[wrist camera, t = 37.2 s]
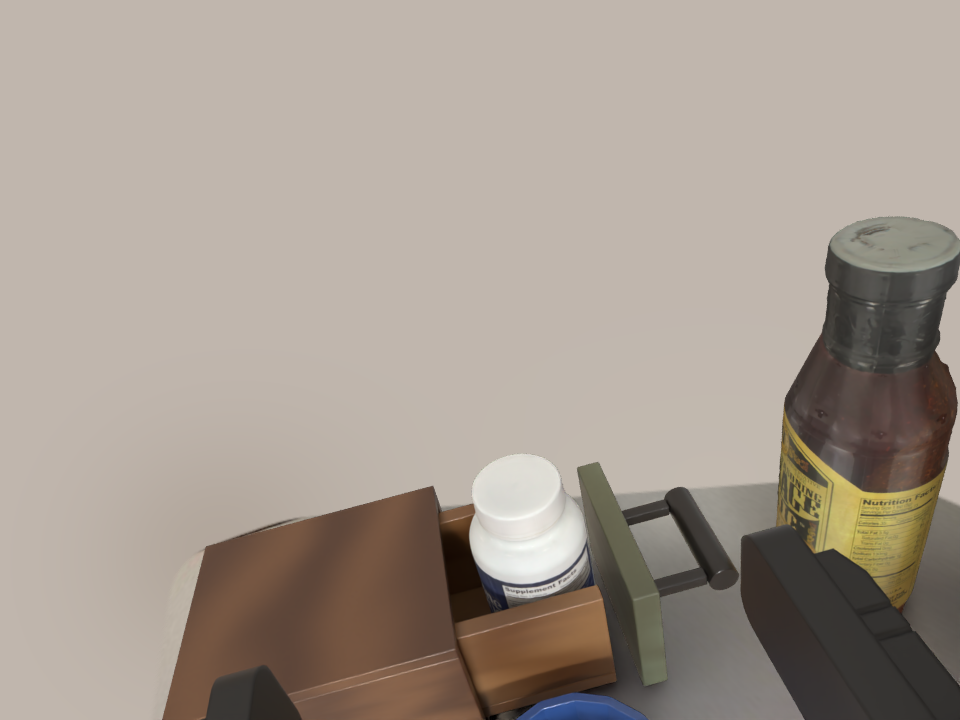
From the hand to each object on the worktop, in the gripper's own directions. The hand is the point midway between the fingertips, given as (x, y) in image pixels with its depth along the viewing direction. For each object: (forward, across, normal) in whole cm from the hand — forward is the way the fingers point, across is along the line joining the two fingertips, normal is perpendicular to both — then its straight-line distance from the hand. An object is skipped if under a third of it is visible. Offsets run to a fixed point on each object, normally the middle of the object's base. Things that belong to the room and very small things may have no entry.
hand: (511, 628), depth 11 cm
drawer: (+15, -2, +22) cm, 26 cm away
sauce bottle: (+13, -16, +23) cm, 30 cm away
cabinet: (+14, +9, +22) cm, 28 cm away
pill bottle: (+14, -1, +21) cm, 25 cm away
